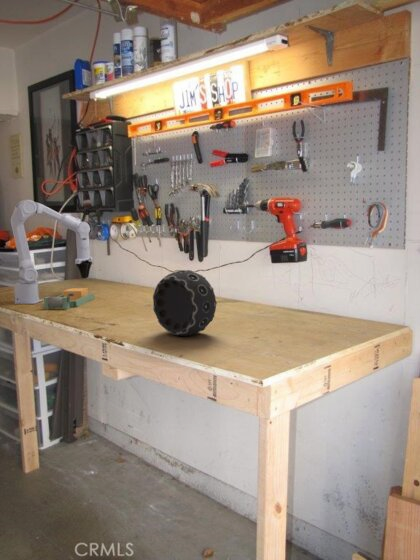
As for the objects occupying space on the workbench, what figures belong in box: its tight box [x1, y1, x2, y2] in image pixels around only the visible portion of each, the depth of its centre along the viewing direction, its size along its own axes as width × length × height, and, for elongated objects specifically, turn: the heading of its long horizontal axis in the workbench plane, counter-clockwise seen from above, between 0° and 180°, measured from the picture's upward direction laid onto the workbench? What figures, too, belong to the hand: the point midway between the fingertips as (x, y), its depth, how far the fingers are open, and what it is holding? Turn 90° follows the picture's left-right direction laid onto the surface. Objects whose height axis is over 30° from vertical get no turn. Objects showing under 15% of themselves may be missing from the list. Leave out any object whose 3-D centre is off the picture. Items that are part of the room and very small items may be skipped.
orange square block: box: [62, 287, 89, 301], centre depth 223 cm, size 8×8×5 cm
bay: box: [43, 292, 95, 311], centre depth 215 cm, size 14×24×6 cm, turn 171°
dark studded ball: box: [152, 269, 218, 337], centre depth 157 cm, size 11×20×20 cm, turn 51°
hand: (85, 277), depth 233 cm, fingers closed
